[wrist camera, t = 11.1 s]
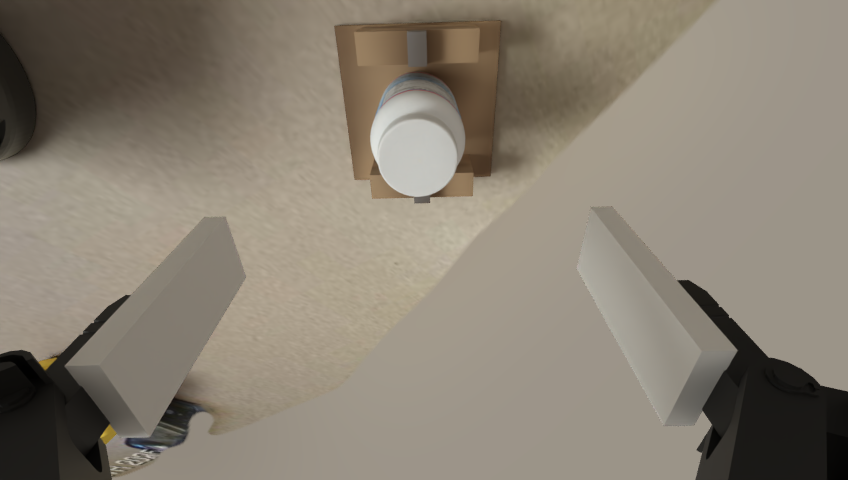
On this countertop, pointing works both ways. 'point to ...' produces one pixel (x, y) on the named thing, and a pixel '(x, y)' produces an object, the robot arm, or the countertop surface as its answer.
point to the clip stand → (431, 53)
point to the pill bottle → (417, 134)
